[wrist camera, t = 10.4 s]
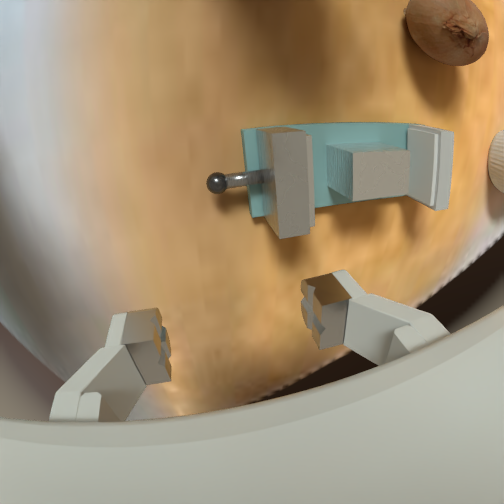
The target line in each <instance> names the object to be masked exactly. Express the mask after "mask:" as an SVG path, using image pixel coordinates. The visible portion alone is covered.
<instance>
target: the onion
mask: <svg viewBox="0 0 504 504" xmlns="http://www.w3.org/2000/svg"><path fill="white" fill-rule="evenodd" d="M404 14H405V16H406V20H407V25H408V29H409V32H410V34H411V36H412V38H413V40H414V41H415V42H416V44H417V45H418V46H419V47H420V48H421V49H422V50H423V51H424V52H425V53H426V54H427V55H429V56H430V57H432V58H433V59H435V60H437V61H439V62H441V63H444V64H447V65H452V66H464V65H468V64H471V63H473V62H475V61H477V60H478V59H479V58H480V57H481V56H482V55H483V54H484V52H485V51H486V48H487V45H488V40H489V33H488V27H487V24H486V21H485V18H484V17H483V15H482V13H481V12H480V10H479V9H478V8H477V7H476V5H475V4H474V3H473V2H472V1H471V0H410V1H409V3H408V6H407V8H405V9H404Z"/></svg>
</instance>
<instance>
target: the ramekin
mask: <svg viewBox="0 0 504 504" xmlns="http://www.w3.org/2000/svg"><path fill="white" fill-rule="evenodd" d="M488 171H489V176H490V179H491V181H492V183H493V185H494V186H495V187H496V188H497V189H498V190H499V191H501V192H502V193H504V130H501V131H500V132H498V133H497V134H496V135H495V137H494V138H493V140H492V142H491V145H490V149H489V154H488Z"/></svg>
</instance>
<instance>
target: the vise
mask: <svg viewBox="0 0 504 504" xmlns="http://www.w3.org/2000/svg"><path fill="white" fill-rule="evenodd" d="M274 127H289V128H294V129H299V130H304V131H306V134H308V135H312V150H313V172H314V202H315V208H317V207H324V206H331V205H338V204H345V203H352V202H359V201H367V200H374V199H382V198H390V197H398V196H408V197H410V198H412V199H414V200H416V201H418V202H420V203H422V204H424V205H426V206H427V207H429V208H431V209H433V210H435V211H437V210H444V209H448V204H449V196H450V187H451V177H452V164H453V146H454V132H452V131H448V130H443V129H439V128H434V127H429V126H425V125H421V124H409V123H383V122H339V123H312V124H295V125H281V126H270V127H259V128H250V129H241V135H242V145H243V154H244V163H245V172H246V171H253V170H260V169H259V158H258V148H257V138H256V129H263V128H274ZM364 142H381V143H384V144H388V145H392V146H395V147H399V148H403V149H406V150H409V151H410V174H409V190H408V194H407V195H398V196H390V197H382V198H374V199H367V200H359V201H351V200H350V199H348V198H347V197H345V196H343V195H342V194H340V193H339V192H337V191H335V190H334V189H332V188H330V187H329V186H327V161H326V144H341V143H364ZM247 191H248V200H249V209H250V214H251V216H252V218H253V217H259V216H264V212H263V201H262V190H261V184H255V185H248V186H247Z"/></svg>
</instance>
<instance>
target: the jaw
mask: <svg viewBox="0 0 504 504" xmlns="http://www.w3.org/2000/svg"><path fill="white" fill-rule="evenodd" d="M256 138H257V148H258V158H259V169H260V170H253V171H246V172H239V173H232V174H226V175H224V174H222V173H219V172H216V173H213V174H211V175H210V176H209V177H208V179H207V183H206V184H207V188H208V189H209V191H210V192H212V193H214V194H220V193H223V192H224V191H225V190H226V189H229V188H235V187H242V186H248V185H255V184H261V190H262V201H263V212H264V218H265V219H266V221H267V222H268V223H269V225H270V226H271V228H272V229H273V231H274V232H275V233H276V235H277V236H278V238H279V239H283V238H289V237H295V236H300V235H306V234H310V227H312V226H315V202H314V172H313V150H312V135H308V134H306V131H304V130H299V129H294V128H289V127H274V128H263V129H256Z"/></svg>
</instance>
